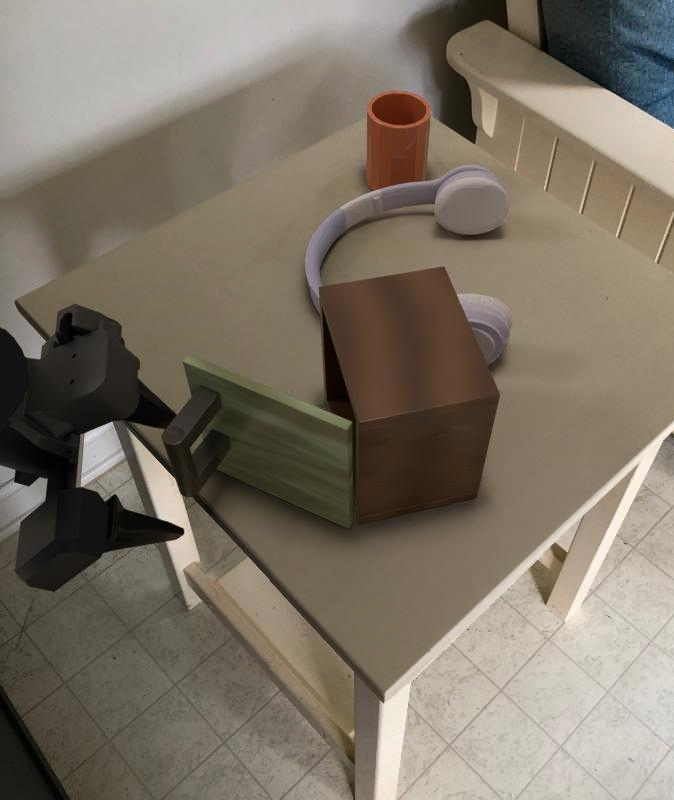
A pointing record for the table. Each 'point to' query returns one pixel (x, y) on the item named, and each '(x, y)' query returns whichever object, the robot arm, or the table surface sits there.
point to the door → (261, 442)
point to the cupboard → (407, 390)
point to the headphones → (454, 210)
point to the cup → (397, 139)
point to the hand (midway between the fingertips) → (180, 477)
